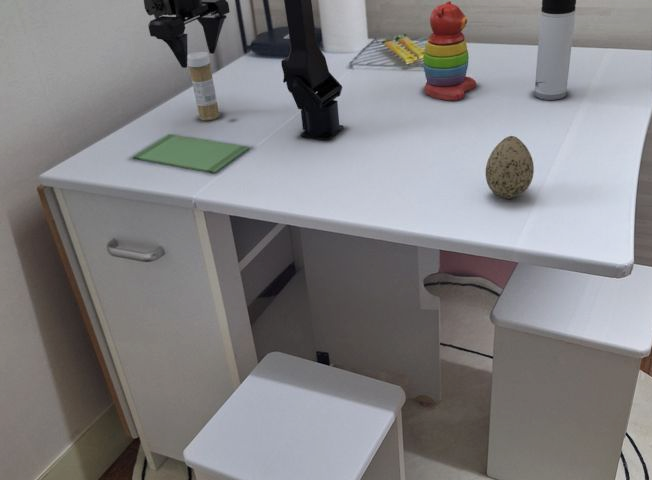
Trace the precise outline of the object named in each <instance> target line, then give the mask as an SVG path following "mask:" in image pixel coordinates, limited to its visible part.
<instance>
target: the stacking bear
mask: <svg viewBox="0 0 652 480" xmlns="http://www.w3.org/2000/svg"><path fill="white" fill-rule="evenodd" d="M467 23H468V18H467V16H466V15H465V14H464V12H463V11H462V10H461V8H460V7H459V6H457V5H456V4H454V3H452V1H450V0H448V1H446V2H445V3H443V4H439V5H437V6H435V7H434V9H432V11H431V13H430V17H429V25H430V28H431V31H432V33H431V34H430V35H429V37H428V39H427V40H426V42H425V45H424V46H425V47H424V52H423V59H422V62H423V63H422V65H423V72H424V76H425V79H426V82H425V85H424V93H425V94H427V95H428V96H430V97H432V98H434V99H438V100H444V101H452V102H453V101H455V102H456V101H461V100H462V99H464V98H465V92H468V91H470V90H473V89H475V88H476V87H477V81H476V80H475V79H474V78H472V77H470V76H467V72H468V68H469V58H470V56H469V50H468V45H467V41H466V36H465V35H464V33H463V32H462V31H463V30H464V29H465V28H466V25H467Z"/></svg>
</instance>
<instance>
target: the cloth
mask: <svg viewBox="0 0 652 480" xmlns="http://www.w3.org/2000/svg"><path fill="white" fill-rule="evenodd" d="M249 150H250V147H249V146H246V145H239V144H232V143H227V142H219V141H213V140H208V139H201V138H196V137H195V138H194V137H187V136H181V135H175V134H167V135H166V136H163V137H162V138H161V139H158V140H157V141H156V142H154V143H152V144H150V145H149V146H147V147H146V148H144V149H142V150H141V151H139V152H137V153H136V154H134V155H132V159H134V160H139V161H146V162H152V163H156V164H163V165H167V166H174V167H179V168H185V169H188V170H189V169H190V170H195V171H201V172H206V173H210V174H211V173H212V174H216V173H217V172H219V171H220V170H222V169H223V168H224V167H226V166H227V165H229V164H230V163H232V162H233V161H234V160H236V159H237V158H239V157H240V156H241V155H243V154H244V153H246V152H247V151H249Z"/></svg>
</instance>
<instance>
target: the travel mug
mask: <svg viewBox="0 0 652 480" xmlns="http://www.w3.org/2000/svg"><path fill="white" fill-rule="evenodd" d="M576 5H577V0H541V9H540V18H539V31H538V43H537V53H536V54H537V55H536V57H537V58H536V66H535V68H536V69H535V77H534V78H535V79H534V91H533V95H534V96H535V98H537V99H540V100H544V101H556V100H561V99H563V98H565V97H566V96H567V90H568V81H569V74H570V73H569V72H570V64H571V63H570V62H571V56H572V55H571V53H572V46H573V45H572V44H573V38H574V37H573V35H574V29H575V28H574V27H575V20H576V19H575V18H576Z"/></svg>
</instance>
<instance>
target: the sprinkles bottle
mask: <svg viewBox="0 0 652 480" xmlns="http://www.w3.org/2000/svg"><path fill="white" fill-rule="evenodd" d="M209 54H210V53H209V52H207V51H195V52H191V53H188V61H187V67H188V68H189V73H190V78H191V84H192V88H193V93H194V99H195V102H196V103H195V104H196V105H197V111H198V118H199V120H201V121H213V120H216V119H218V118H219V117H220V115H221V112H220V109H219V106H218V105H219V104H218V100H217V93H216V89H215V84H214V79H213V78H214V77H213V73H212V68H211V59H210V55H209Z"/></svg>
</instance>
